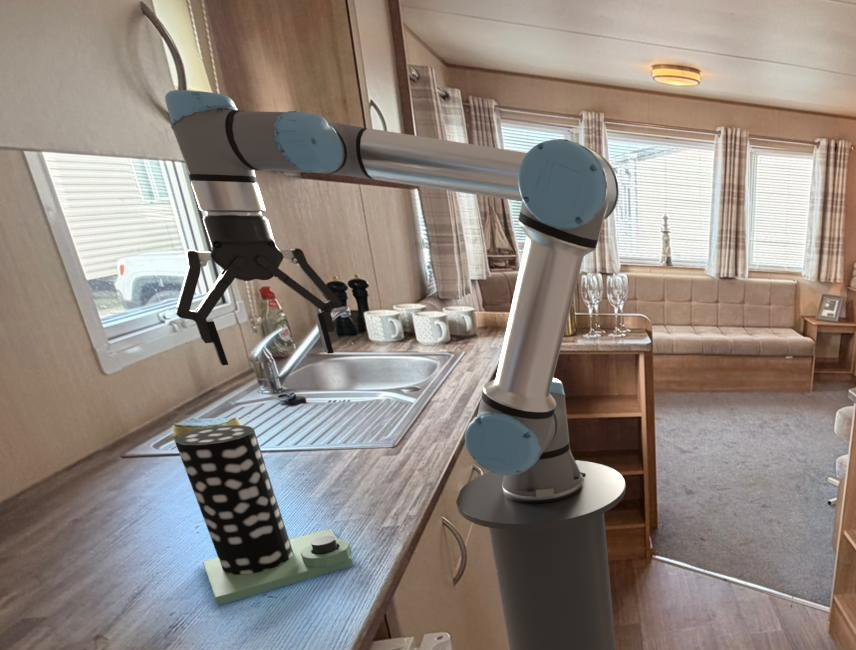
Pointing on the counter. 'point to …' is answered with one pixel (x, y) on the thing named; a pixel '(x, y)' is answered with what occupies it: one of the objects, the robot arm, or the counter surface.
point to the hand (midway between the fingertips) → (279, 357)
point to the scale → (279, 570)
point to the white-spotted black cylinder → (235, 497)
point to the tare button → (324, 545)
